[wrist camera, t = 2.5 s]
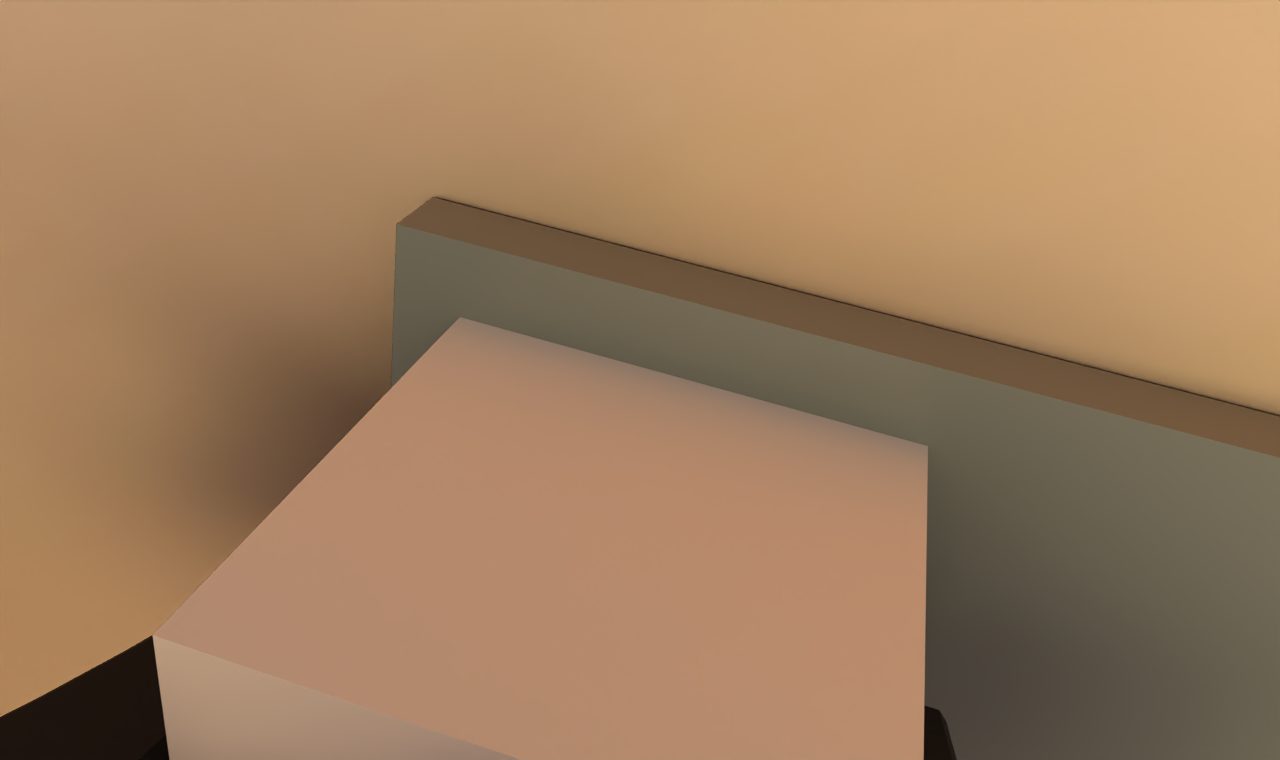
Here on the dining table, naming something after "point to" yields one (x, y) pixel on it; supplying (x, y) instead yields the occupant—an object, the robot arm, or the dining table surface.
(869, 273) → the dining table surface
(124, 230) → the dining table surface
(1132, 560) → the baseplate
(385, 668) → the cream brick
